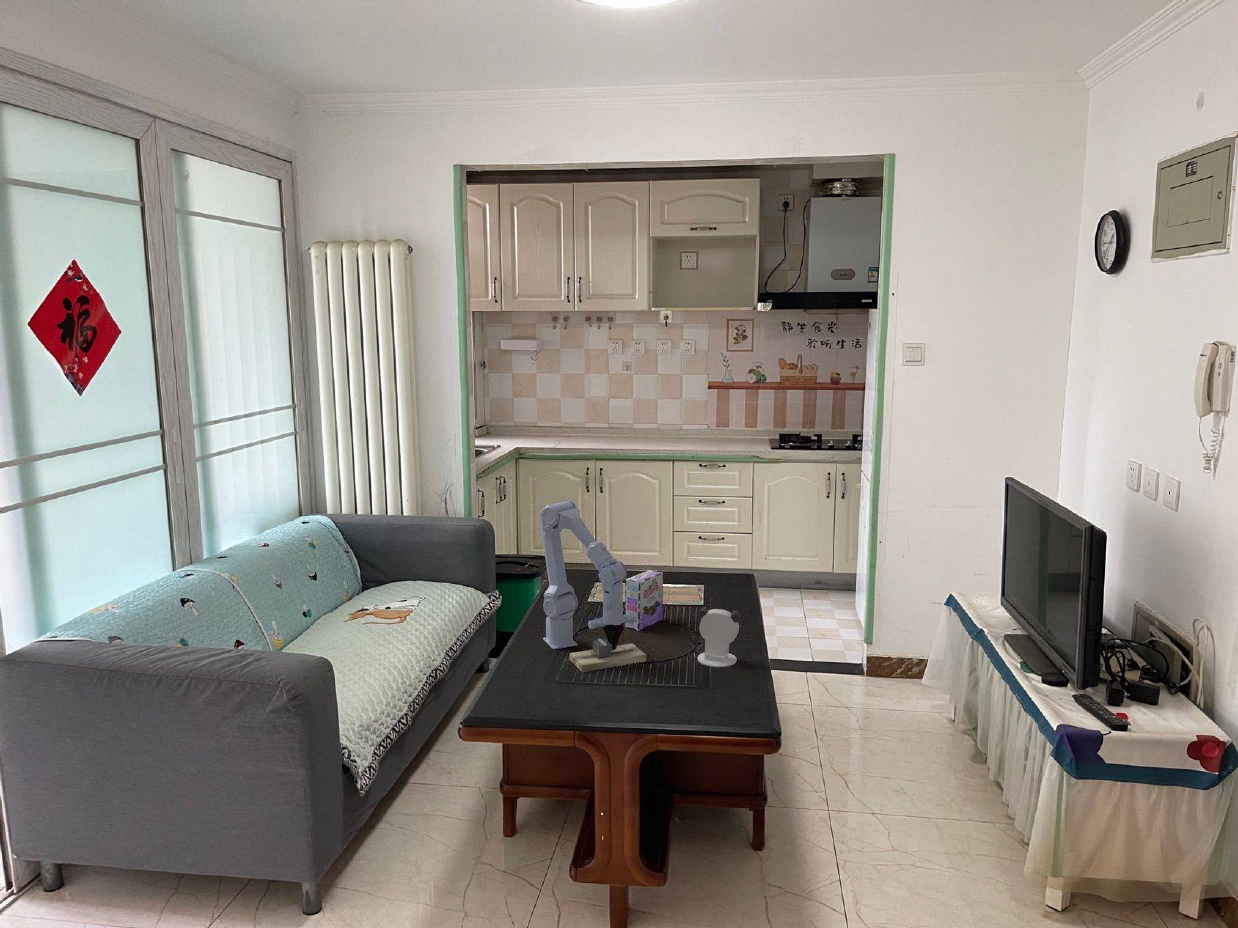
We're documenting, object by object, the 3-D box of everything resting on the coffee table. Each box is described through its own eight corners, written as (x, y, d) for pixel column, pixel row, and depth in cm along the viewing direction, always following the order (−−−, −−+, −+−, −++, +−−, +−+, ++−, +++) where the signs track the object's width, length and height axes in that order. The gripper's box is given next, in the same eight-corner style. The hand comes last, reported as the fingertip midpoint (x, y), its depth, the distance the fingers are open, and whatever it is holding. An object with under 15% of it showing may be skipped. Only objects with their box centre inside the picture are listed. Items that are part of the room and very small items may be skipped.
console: (569, 659, 257) (569, 652, 256) (631, 649, 265) (631, 642, 264) (582, 672, 248) (582, 665, 247) (646, 661, 256) (646, 654, 255)
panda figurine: (741, 654, 261) (742, 606, 259) (735, 669, 250) (737, 618, 248) (701, 650, 264) (702, 602, 262) (694, 664, 253) (695, 614, 251)
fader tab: (592, 651, 256) (592, 639, 256) (605, 649, 258) (605, 637, 257) (599, 657, 252) (599, 645, 251) (612, 655, 254) (612, 643, 253)
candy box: (638, 631, 280) (639, 581, 277) (624, 627, 283) (624, 578, 281) (663, 619, 291) (663, 571, 288) (648, 616, 294) (649, 568, 291)
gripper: (594, 611, 247) (594, 657, 250) (641, 604, 253) (641, 649, 256) (585, 603, 254) (585, 648, 256) (631, 597, 260) (630, 641, 262)
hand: (612, 648), depth 256 cm, fingers closed
